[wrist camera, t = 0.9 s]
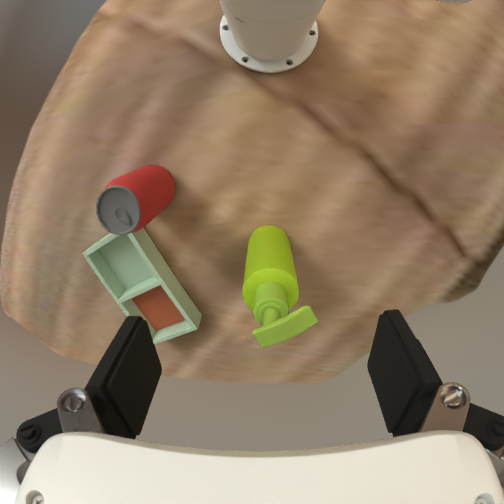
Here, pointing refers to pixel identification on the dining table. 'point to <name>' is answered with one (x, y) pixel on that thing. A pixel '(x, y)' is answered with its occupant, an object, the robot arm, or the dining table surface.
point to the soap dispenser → (273, 287)
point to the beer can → (135, 199)
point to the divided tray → (143, 284)
